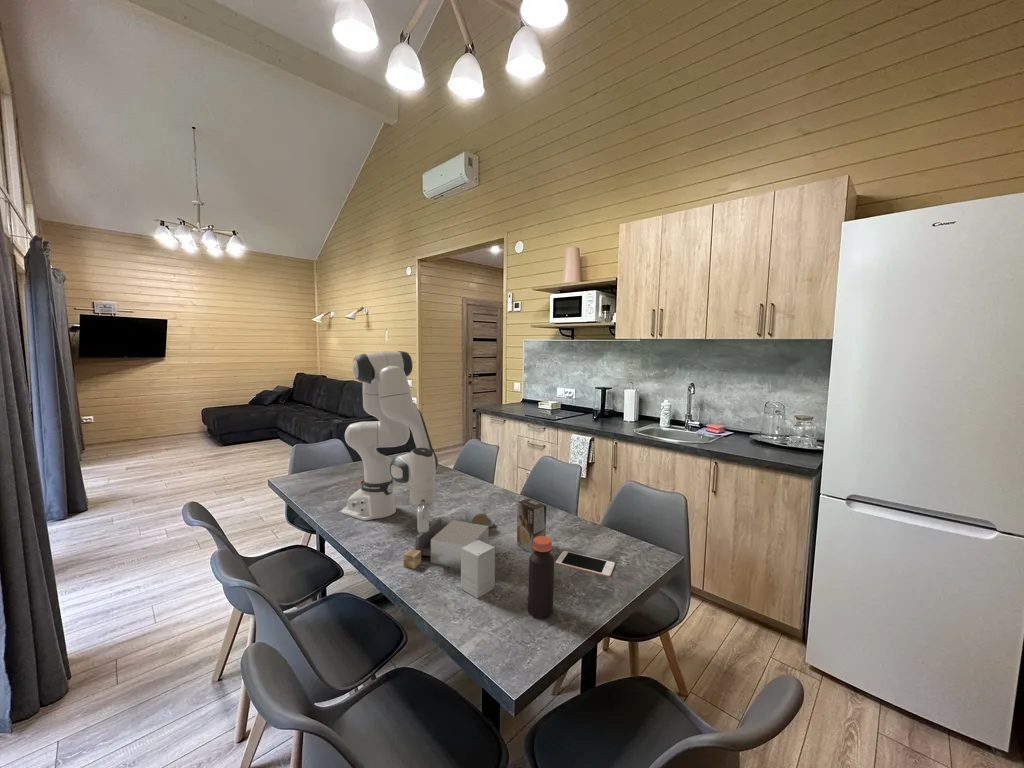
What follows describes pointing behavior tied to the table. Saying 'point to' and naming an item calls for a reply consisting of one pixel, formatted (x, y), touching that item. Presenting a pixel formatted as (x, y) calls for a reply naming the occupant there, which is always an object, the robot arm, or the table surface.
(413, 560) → the block
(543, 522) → the coffee box
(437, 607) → the table surface
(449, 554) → the housing
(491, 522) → the ceramic mug
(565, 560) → the cell phone
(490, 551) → the supplement box
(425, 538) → the tray
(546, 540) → the bottle
